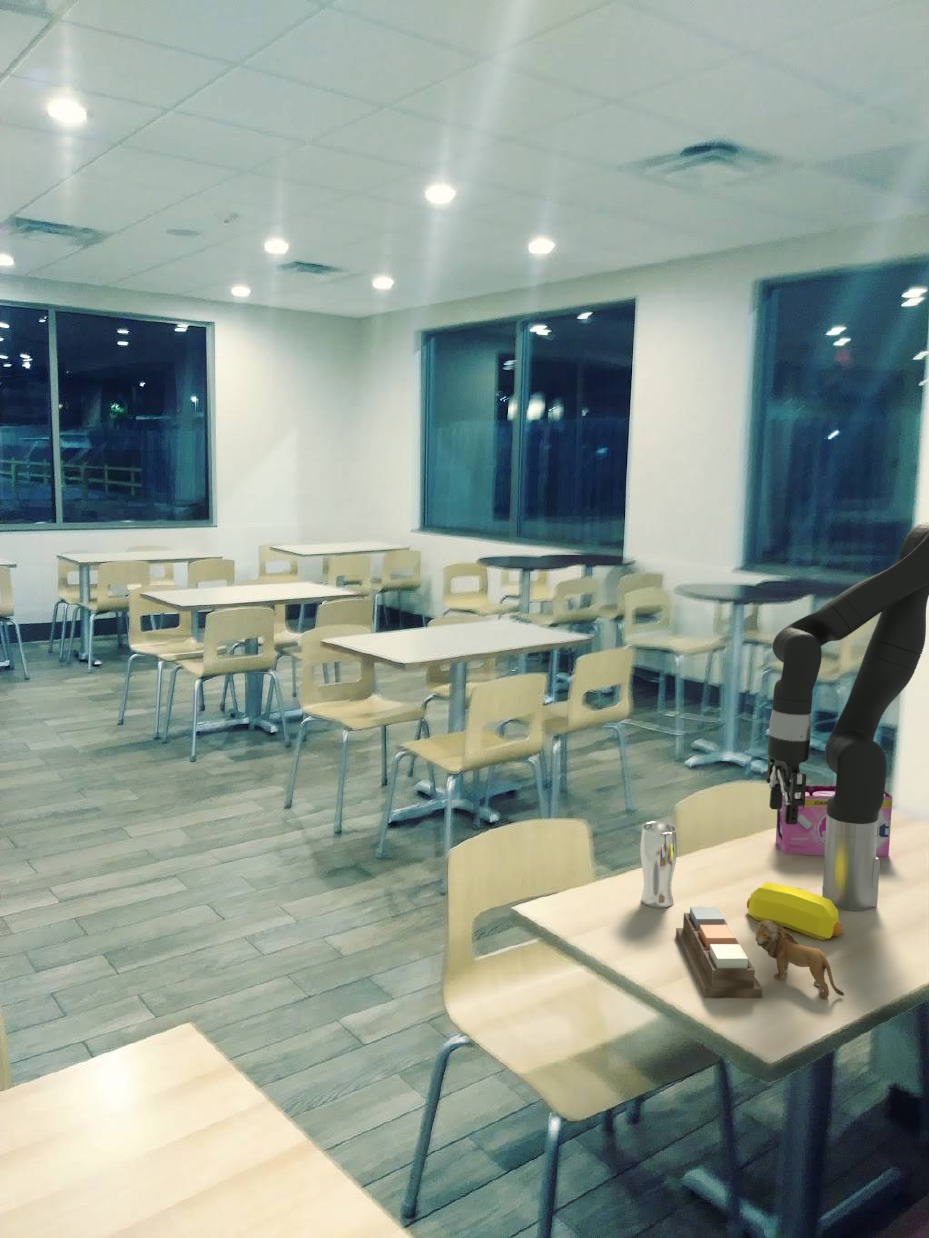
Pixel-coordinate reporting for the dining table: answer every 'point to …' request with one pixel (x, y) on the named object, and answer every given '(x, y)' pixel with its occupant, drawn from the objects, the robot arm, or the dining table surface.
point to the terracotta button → (716, 935)
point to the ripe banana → (795, 910)
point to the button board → (712, 978)
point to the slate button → (706, 916)
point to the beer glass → (658, 863)
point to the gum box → (823, 824)
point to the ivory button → (728, 956)
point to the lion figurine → (793, 954)
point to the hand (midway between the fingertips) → (782, 816)
